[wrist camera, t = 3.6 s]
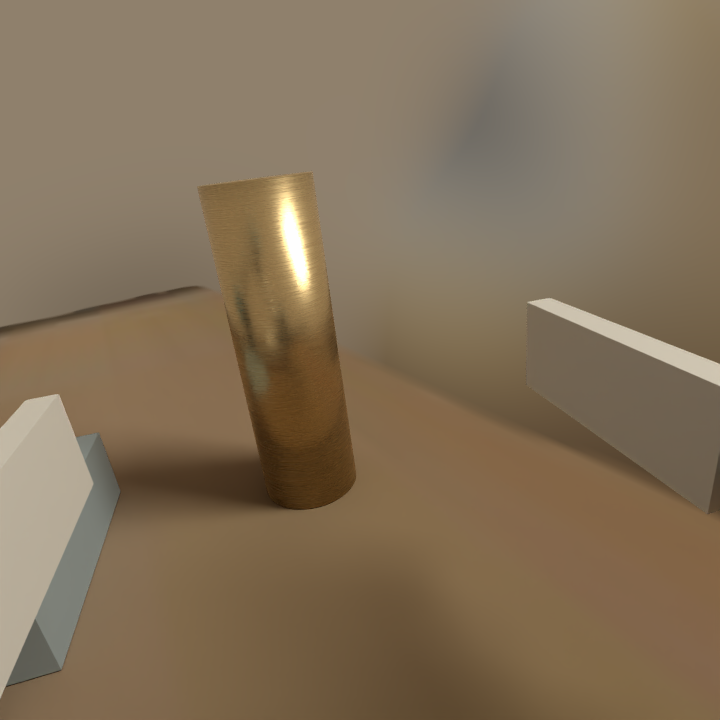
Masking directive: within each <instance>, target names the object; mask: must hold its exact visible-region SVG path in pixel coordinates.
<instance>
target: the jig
mask: <svg viewBox="0 0 720 720" xmlns="http://www.w3.org/2000/svg"><path fill="white" fill-rule="evenodd" d="M76 440H77V442H78V445H79V447H80V450H81V452H82V455H83V458H84V460H85V463H86V465H87V468H88V470H89V473H90V475H91V478H92V481H93V483H94V484H93V486H92V489H91V491H90V493H89V496H88V498H87V500H86V503H85V505H84V507H83V509H82V512H81V514H80V516H79V519H78V521H77V523H76V525H75V528H74V530H73V532H72V535H71V537H70V539H69V542H68V544H67V546H66V548H65V551H64V553H63V555H62V558H61V560H60V562H59V565H58V567H57V569H56V571H55V574H54V576H53V578H52V581H51V583H50V585H49V587H48V590H47V592H46V594H45V597H44V599H43V601H42V604H41V606H40V608H39V610H38V613H37V615H36V617H35V620H34V622H33V624H32V627H31V629H30V631H29V633H28V636H27V638H26V640H25V643H24V645H23V647H22V650H21V652H20V654H19V656H18V659H17V661H16V663H15V666H14V668H13V670H12V672H11V675H10V677H9V679H8V682H7V684H6V686H8V685H12V684H15V683H18V682H22V681H25V680H29V679H32V678H35V677H39V676H42V675H46V674H49V673H52V672H56V671H59V670H61V669H62V666H63V663H64V660H65V657H66V654H67V651H68V648H69V645H70V642H71V639H72V636H73V633H74V630H75V627H76V624H77V621H78V618H79V615H80V612H81V609H82V606H83V603H84V600H85V597H86V594H87V591H88V588H89V585H90V582H91V579H92V576H93V573H94V570H95V567H96V564H97V561H98V558H99V555H100V552H101V549H102V546H103V543H104V540H105V537H106V534H107V531H108V528H109V525H110V522H111V519H112V516H113V513H114V510H115V507H116V504H117V501H118V498H119V495H120V492H121V491H120V489H119V486H118V483H117V480H116V478H115V475H114V472H113V470H112V467H111V464H110V461H109V459H108V456H107V453H106V451H105V448H104V445H103V443H102V440H101V437H100V434H99V433H94V434H90V435H85V436H80V437H76Z"/></svg>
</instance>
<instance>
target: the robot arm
mask: <svg viewBox="0 0 720 720" xmlns="http://www.w3.org/2000/svg"><path fill="white" fill-rule="evenodd" d="M526 358H527V360H526V385H527V386H529V387H530V388H532V389H533V390H534V391H536V392H537V393H539V394H540V395H541V396H543V397H544V398H546V399H547V400H548V401H550V402H551V403H553V404H554V405H556V406H557V407H558V408H560V409H561V410H563V411H564V412H565V413H567V414H568V415H569V416H571V417H572V418H574V419H575V420H576V421H578V422H579V423H581V424H582V425H583V426H585V427H586V428H588V429H589V430H591V431H592V432H593V433H595V434H596V435H597V436H599V437H600V438H602V439H603V440H605V441H606V442H607V443H609V444H610V445H611V446H613V447H614V448H616V449H617V450H618V451H620V452H621V453H623V454H624V455H626V456H627V457H628V458H630V459H631V460H632V461H634V462H635V463H637V464H638V465H640V466H641V467H642V468H644V469H645V470H646V471H648V472H649V473H651V474H652V475H654V476H655V477H656V478H658V479H659V480H660V481H662V482H663V483H665V484H666V485H667V486H669V487H670V488H672V489H673V490H675V491H676V492H677V493H679V494H680V495H682V496H683V497H684V498H686V499H687V500H689V501H690V502H691V503H693V504H694V505H696V506H697V507H698V508H700V509H701V510H703V511H704V512H705V513H707V514H710V513H713V512H716V511H720V364H718V363H716V362H713V361H711V360H708V359H705V358H703V357H700V356H698V355H695V354H693V353H690V352H687V351H685V350H682V349H680V348H677V347H675V346H672V345H670V344H667V343H664V342H662V341H659V340H657V339H654V338H652V337H649V336H646V335H644V334H641V333H639V332H636V331H634V330H631V329H629V328H626V327H623V326H620V325H618V324H616V323H613V322H611V321H608V320H605V319H603V318H600V317H598V316H595V315H593V314H590V313H587V312H585V311H582V310H579V309H577V308H575V307H572V306H570V305H567V304H564V303H562V302H559V301H557V300H554V299H551V298H547V299H541V300H537V301H531V302H527V357H526ZM93 484H94V483H93V481H92V478H91V475H90V473H89V470H88V468H87V465H86V463H85V460H84V458H83V455H82V452H81V450H80V447H79V445H78V442H77V440H76V437H75V435H74V432H73V429H72V427H71V424H70V422H69V419H68V417H67V414H66V412H65V409H64V406H63V404H62V401H61V399H60V396H59V394H56V395H50V396H45V397H40V398H35V399H30V400H26V401H25V402H24V403H23V404H22V405H21V406H20V407H19V408H18V409H17V411H16V412H15V413H14V414H13V415H12V416H11V417H10V418H9V420H8V421H7V422H6V423H5V424H4V425H3V426H2V427H1V429H0V698H1V695H2V693H3V691H4V689H5V686H6V684H7V682H8V679H9V677H10V675H11V672H12V670H13V668H14V666H15V663H16V661H17V659H18V656H19V654H20V652H21V650H22V647H23V645H24V643H25V640H26V638H27V636H28V633H29V631H30V629H31V627H32V624H33V622H34V620H35V617H36V615H37V613H38V610H39V608H40V606H41V604H42V601H43V599H44V597H45V594H46V592H47V590H48V587H49V585H50V583H51V581H52V578H53V576H54V574H55V571H56V569H57V567H58V565H59V562H60V560H61V558H62V555H63V553H64V551H65V548H66V546H67V544H68V542H69V539H70V537H71V535H72V532H73V530H74V528H75V525H76V523H77V521H78V519H79V516H80V514H81V512H82V509H83V507H84V505H85V503H86V500H87V498H88V496H89V493H90V491H91V489H92V486H93Z"/></svg>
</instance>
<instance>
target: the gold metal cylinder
mask: <svg viewBox="0 0 720 720" xmlns="http://www.w3.org/2000/svg"><path fill="white" fill-rule="evenodd" d="M197 188H198V192H199V197H200V201H201V205H202V210H203V214H204V218H205V223H206V227H207V231H208V235H209V240H210V244H211V249H212V253H213V257H214V261H215V266H216V270H217V275H218V279H219V283H220V288H221V292H222V297H223V301H224V305H225V310H226V314H227V318H228V323H229V327H230V331H231V336H232V340H233V344H234V349H235V353H236V357H237V362H238V366H239V370H240V375H241V379H242V383H243V388H244V392H245V396H246V401H247V405H248V409H249V414H250V418H251V422H252V427H253V431H254V435H255V440H256V444H257V448H258V453H259V457H260V461H261V466H262V470H263V474H264V479H265V483H266V487H267V492H268V495H269V497H270V498H271V499H272V500H273V501H274V502H275V503H277V504H278V505H281V506H283V507H286V508H291V509H310V508H316V507H320V506H324V505H327V504H329V503H332V502H334V501H335V500H337V499H339V498H341V497H342V496H343V495H345V494H346V493H347V492H348V491H349V490H350V489H351V487H352V486H353V484H354V482H355V479H356V470H355V463H354V456H353V449H352V442H351V435H350V428H349V421H348V414H347V407H346V400H345V394H344V387H343V380H342V373H341V366H340V359H339V352H338V345H337V338H336V331H335V325H334V317H333V311H332V304H331V297H330V290H329V283H328V276H327V269H326V262H325V255H324V249H323V242H322V234H321V228H320V221H319V214H318V207H317V200H316V193H315V186H314V179H313V172H301V173H292V174H284V175H276V176H269V177H260V178H253V179H244V180H237V181H230V182H223V183H216V184H209V185H203V186H198V187H197Z"/></svg>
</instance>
